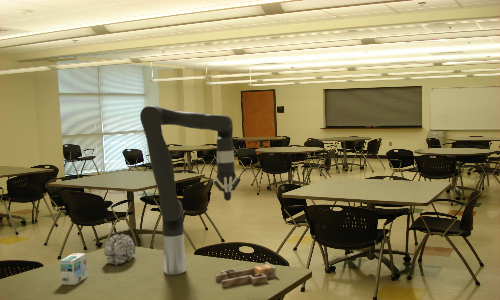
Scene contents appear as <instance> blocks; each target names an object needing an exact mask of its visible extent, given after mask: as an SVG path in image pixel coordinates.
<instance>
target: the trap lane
mask: <svg viewBox="0 0 500 300" xmlns="http://www.w3.org/2000/svg"><path fill="white" fill-rule="evenodd" d="M266 264H267V265H269V266H270V267H272V271H268V272H262V273H258V274H256V275H255V271H254V267H251V268H246V269H241V270H238V269H237V268H231V269H230V268H229V269H224V270H220V273H218V274H215V276H214V277H215V282H216V283H217V282H221V287H222V288H227V287H231V286H232V287H233V286H236V285H237V286H238V285H242V284H246V283H250V284H251V285H252V286H254V285H259V284H263V283H268V279H271V278H277V267H276V266H274V265H273V264H272V263H269V262H268V261H265V262H264V265H266ZM253 275H254V276H253Z"/></svg>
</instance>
